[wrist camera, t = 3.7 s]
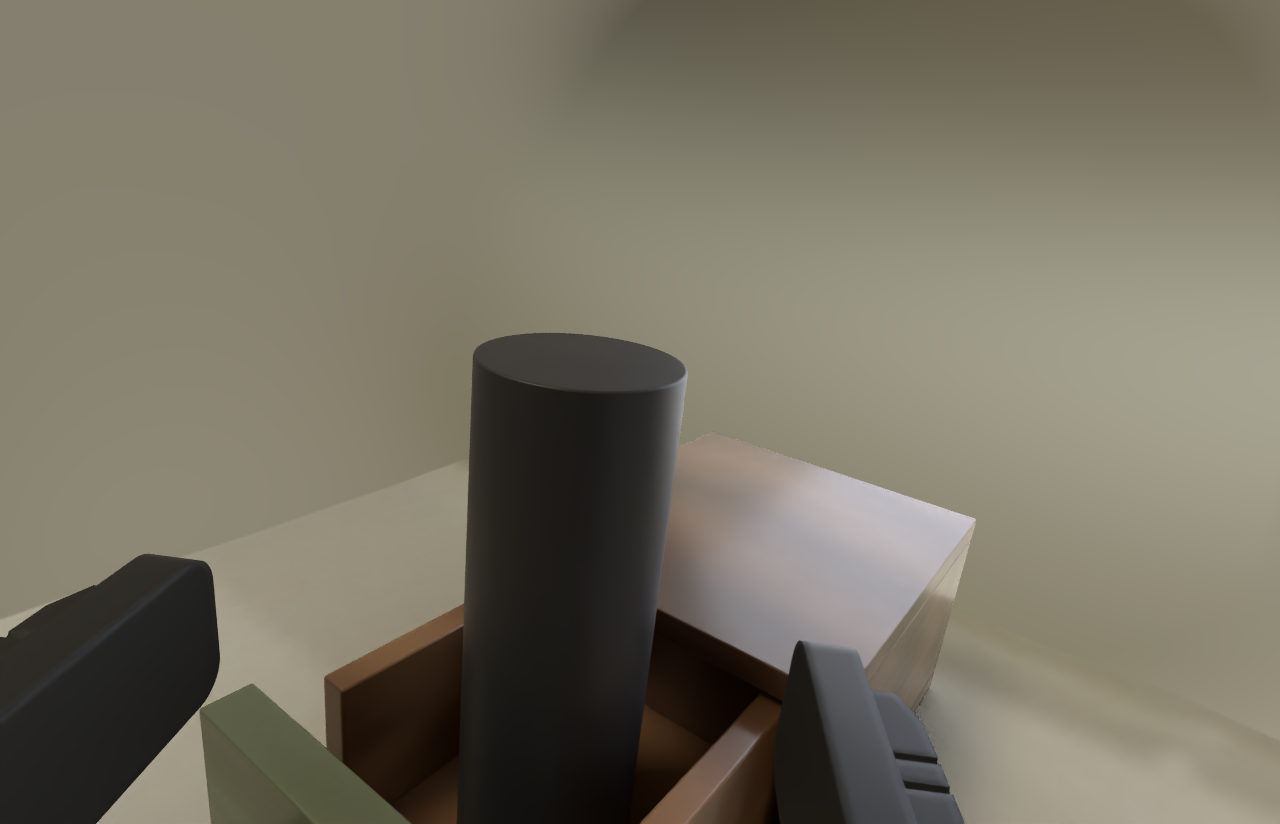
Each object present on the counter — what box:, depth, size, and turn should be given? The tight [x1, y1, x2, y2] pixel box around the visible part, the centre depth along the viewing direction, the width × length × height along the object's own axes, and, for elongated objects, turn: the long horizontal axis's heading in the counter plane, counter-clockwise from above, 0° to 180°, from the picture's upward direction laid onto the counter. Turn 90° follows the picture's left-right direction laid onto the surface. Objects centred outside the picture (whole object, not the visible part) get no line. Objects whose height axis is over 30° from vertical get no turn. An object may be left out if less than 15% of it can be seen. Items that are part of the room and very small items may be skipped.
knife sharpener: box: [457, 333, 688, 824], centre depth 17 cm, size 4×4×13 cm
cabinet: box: [654, 432, 976, 713], centre depth 27 cm, size 14×12×8 cm
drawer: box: [200, 604, 783, 824], centre depth 18 cm, size 17×10×6 cm, turn 144°
